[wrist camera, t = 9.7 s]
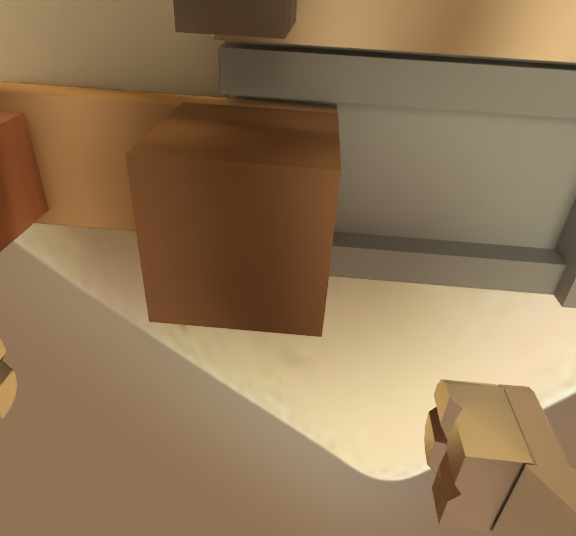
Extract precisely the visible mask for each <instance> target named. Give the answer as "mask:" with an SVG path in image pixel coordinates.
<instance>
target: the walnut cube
mask: <svg viewBox="0 0 576 536" xmlns="http://www.w3.org/2000/svg"><path fill="white" fill-rule="evenodd" d="M125 156H126V163H127V170H128V177H129V184H130V191H131V198H132V205H133V212H134V219H135V226H136V233H137V239H138V246H139V253H140V260H141V267H142V274H143V281H144V288H145V295H146V302H147V309H148V316H149V322H160V323H171V324H183V325H194V326H205V327H217V328H228V329H239V330H251V331H262V332H273V333H284V334H296V335H307V336H318V337H322V329H323V321H324V312H325V304H326V295H327V287H328V278H329V269H330V261H331V252H332V244H333V235H334V227H335V218H336V210H337V201H338V193H339V184H340V176H341V159H340V140H339V122H338V113H329V112H315V111H301V110H287V109H273V108H259V107H244V106H230V105H216V104H202V103H188V102H182V103H181V104H180V105H179V106H178V107H177V108H176V109H174V110H173V111H172V112H171V113H170V114H169V115H168V116H167V117H166V118H164V119H163V120H162V121H161V122H160V123H159V124H158V125H157V126H156V127H154V128H153V129H152V130H151V131H150V132H149V133H148V134H147V135H146V136H145V137H143V138H142V139H141V140H140V141H139V142H138V143H137V144H136V145H135V146H133V147H132V148H131V149H130V150H129V151H128V152H127V153H126V154H125Z"/></svg>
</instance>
